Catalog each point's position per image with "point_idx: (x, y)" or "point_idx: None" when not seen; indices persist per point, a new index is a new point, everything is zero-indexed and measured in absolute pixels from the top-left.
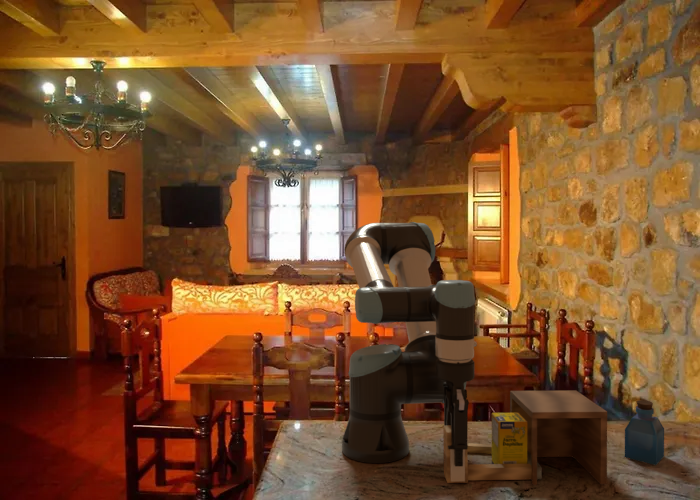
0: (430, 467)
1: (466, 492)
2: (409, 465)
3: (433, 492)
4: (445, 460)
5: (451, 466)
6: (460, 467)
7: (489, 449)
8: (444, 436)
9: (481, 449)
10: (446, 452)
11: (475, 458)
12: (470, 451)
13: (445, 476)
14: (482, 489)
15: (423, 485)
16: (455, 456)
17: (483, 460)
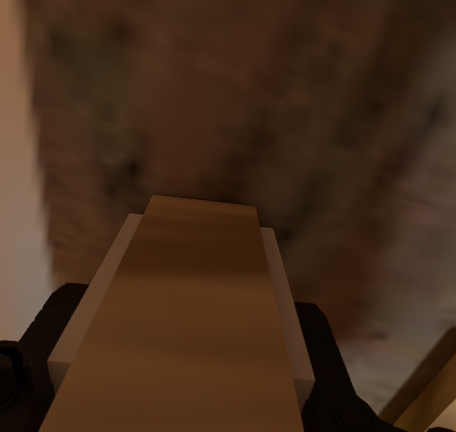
0: (366, 164)
1: (66, 247)
2: (441, 40)
3: (52, 93)
4: (195, 252)
5: (105, 261)
6: None
7: (415, 424)
8: (224, 405)
9: (431, 404)
10: (129, 297)
11: (385, 362)
12: (450, 366)
13: (207, 205)
14: None
15: (142, 57)
16: (24, 335)
17: (356, 378)
